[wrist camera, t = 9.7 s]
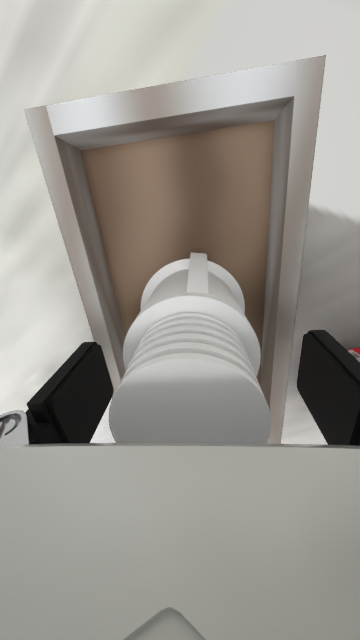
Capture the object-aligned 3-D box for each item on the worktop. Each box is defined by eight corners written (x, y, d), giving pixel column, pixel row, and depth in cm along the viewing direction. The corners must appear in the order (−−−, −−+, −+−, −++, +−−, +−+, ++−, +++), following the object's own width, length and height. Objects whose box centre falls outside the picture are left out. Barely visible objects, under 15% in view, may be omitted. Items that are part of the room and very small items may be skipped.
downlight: (232, 363, 17) (278, 523, 8) (141, 354, 17) (80, 500, 8) (254, 254, 14) (369, 307, 5) (142, 245, 14) (46, 278, 5)
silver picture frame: (289, 99, 11) (325, 55, 8) (266, 415, 21) (279, 452, 17) (66, 135, 13) (23, 109, 9) (138, 418, 22) (128, 453, 19)
